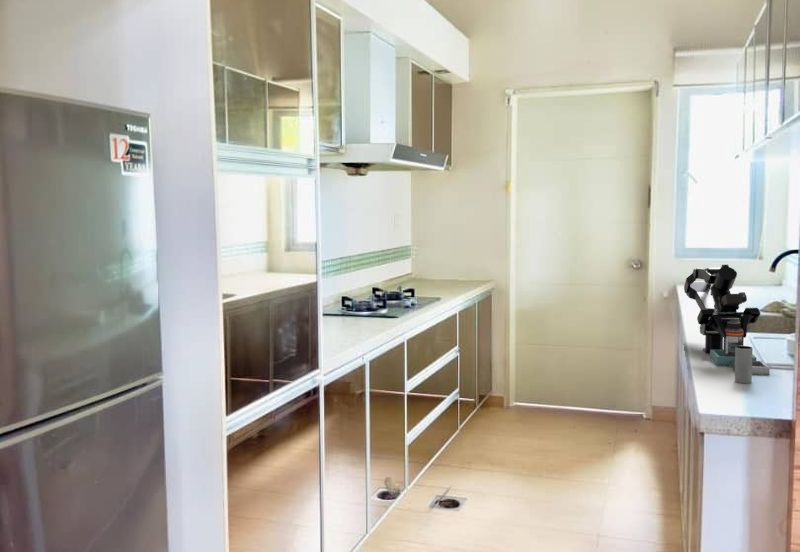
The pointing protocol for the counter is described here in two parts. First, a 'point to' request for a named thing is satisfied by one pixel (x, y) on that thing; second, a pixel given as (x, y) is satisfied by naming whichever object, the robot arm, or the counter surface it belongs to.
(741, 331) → the supplement bottle
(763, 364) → the collar
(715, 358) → the bin
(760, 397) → the counter surface
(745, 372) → the grey hollow cylinder
